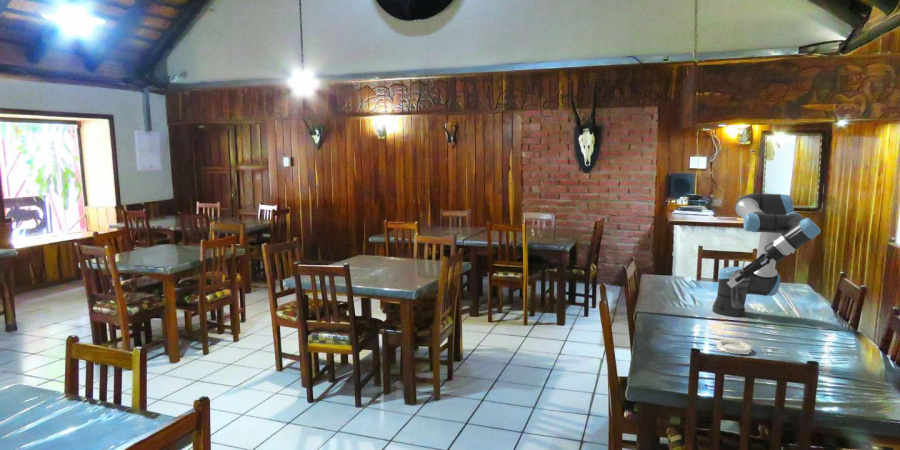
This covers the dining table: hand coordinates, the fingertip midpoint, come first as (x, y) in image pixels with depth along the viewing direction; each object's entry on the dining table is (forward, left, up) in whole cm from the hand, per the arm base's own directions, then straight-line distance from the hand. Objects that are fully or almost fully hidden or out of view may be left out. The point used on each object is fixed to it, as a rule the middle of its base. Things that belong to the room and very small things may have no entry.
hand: (730, 283), depth 230 cm
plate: (-3, +1, -28) cm, 28 cm away
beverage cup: (-3, +1, -10) cm, 10 cm away
